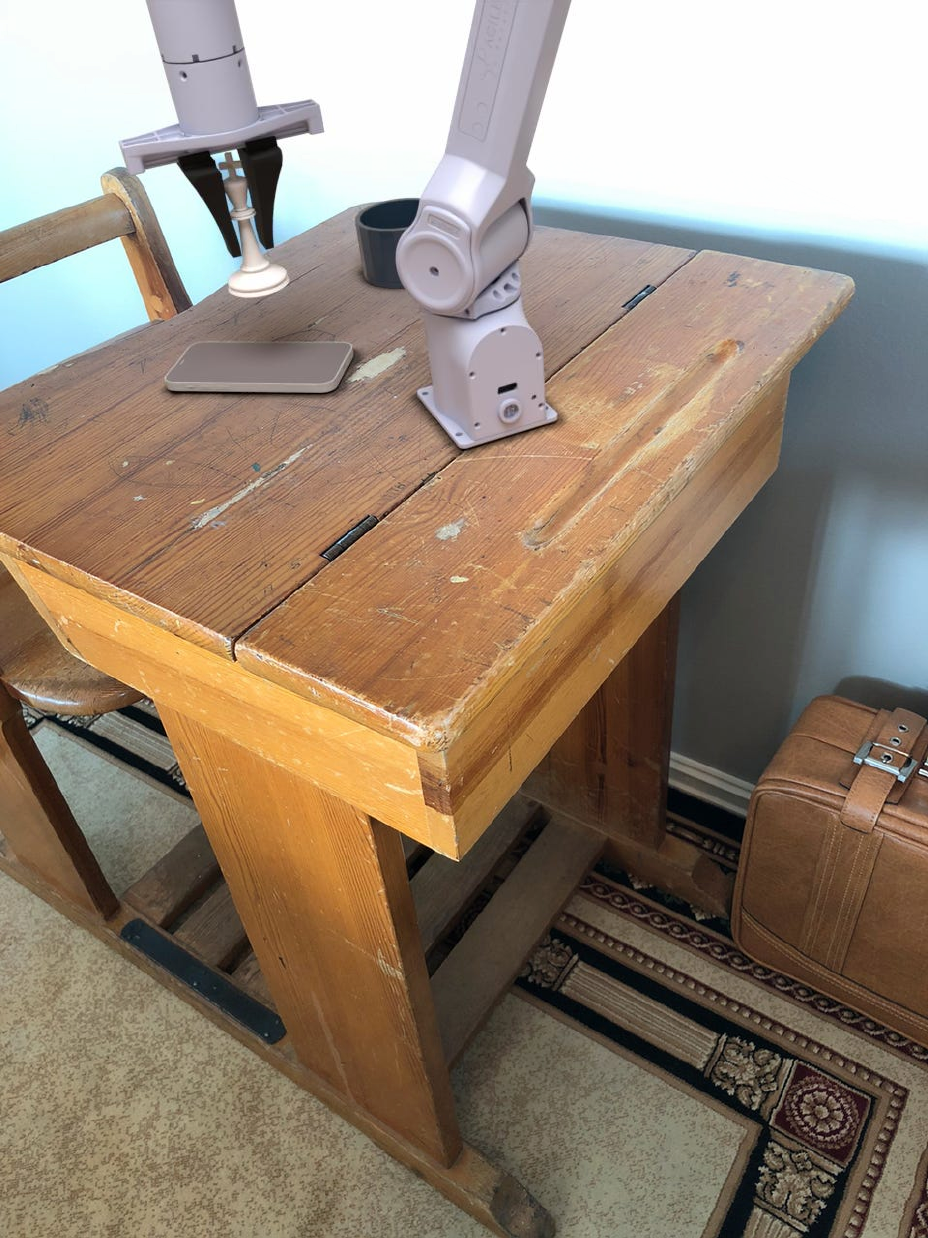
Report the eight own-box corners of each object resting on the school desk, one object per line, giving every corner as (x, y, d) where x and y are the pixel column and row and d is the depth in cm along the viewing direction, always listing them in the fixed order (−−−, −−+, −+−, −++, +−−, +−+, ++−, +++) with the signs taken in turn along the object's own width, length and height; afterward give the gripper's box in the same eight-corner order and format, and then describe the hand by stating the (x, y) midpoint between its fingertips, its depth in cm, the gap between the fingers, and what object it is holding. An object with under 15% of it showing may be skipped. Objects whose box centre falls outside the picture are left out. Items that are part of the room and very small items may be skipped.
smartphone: (332, 384, 78) (159, 382, 81) (334, 394, 79) (163, 392, 81) (355, 341, 83) (192, 341, 86) (357, 351, 84) (195, 350, 87)
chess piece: (284, 295, 76) (254, 160, 69) (223, 300, 76) (187, 166, 70) (293, 269, 80) (266, 139, 73) (235, 274, 80) (202, 145, 73)
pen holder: (461, 274, 94) (455, 216, 90) (380, 295, 92) (371, 237, 89) (430, 246, 100) (423, 191, 96) (353, 266, 98) (343, 210, 94)
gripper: (288, 24, 71) (324, 212, 81) (90, 63, 68) (151, 254, 77) (315, 40, 66) (350, 238, 76) (104, 83, 63) (166, 285, 72)
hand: (251, 248), depth 76 cm, fingers closed on chess piece
